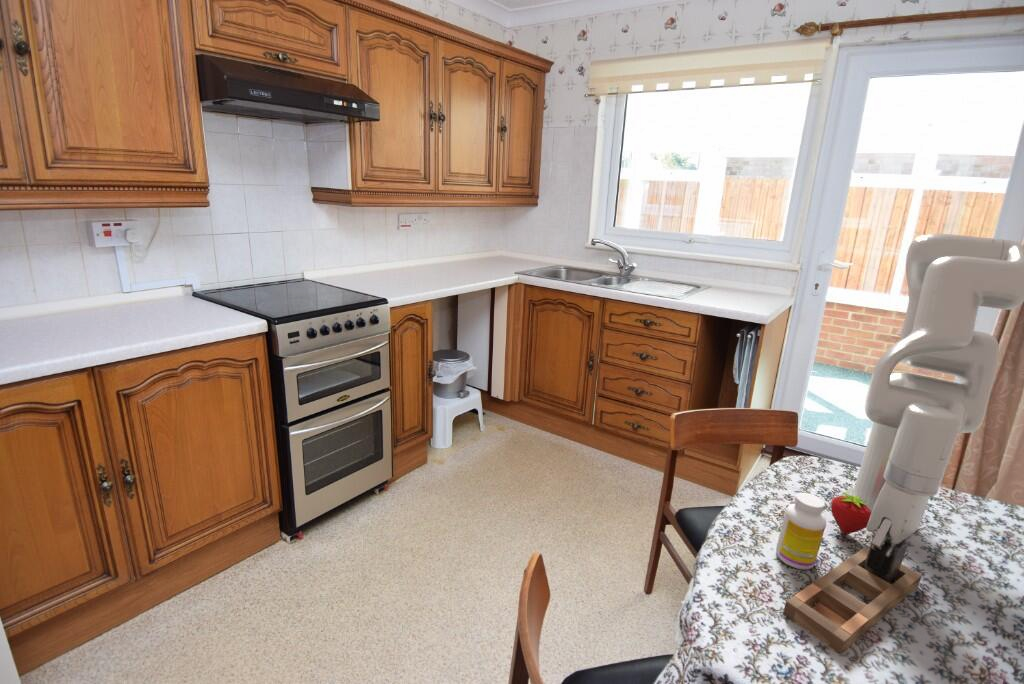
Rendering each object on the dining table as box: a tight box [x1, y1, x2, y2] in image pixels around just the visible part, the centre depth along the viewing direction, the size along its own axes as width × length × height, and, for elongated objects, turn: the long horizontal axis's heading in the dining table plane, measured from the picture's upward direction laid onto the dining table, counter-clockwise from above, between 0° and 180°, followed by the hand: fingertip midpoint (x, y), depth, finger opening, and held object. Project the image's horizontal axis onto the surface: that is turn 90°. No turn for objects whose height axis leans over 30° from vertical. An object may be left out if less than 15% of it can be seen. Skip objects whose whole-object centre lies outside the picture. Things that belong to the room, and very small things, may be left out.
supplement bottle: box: [775, 492, 827, 570], centre depth 98 cm, size 7×7×13 cm
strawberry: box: [830, 491, 871, 535], centre depth 107 cm, size 6×8×10 cm
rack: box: [782, 545, 923, 655], centre depth 91 cm, size 28×9×3 cm, turn 124°
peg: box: [863, 533, 910, 585], centre depth 95 cm, size 4×4×9 cm
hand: (882, 565), depth 95 cm, fingers closed on peg, 4 cm apart
